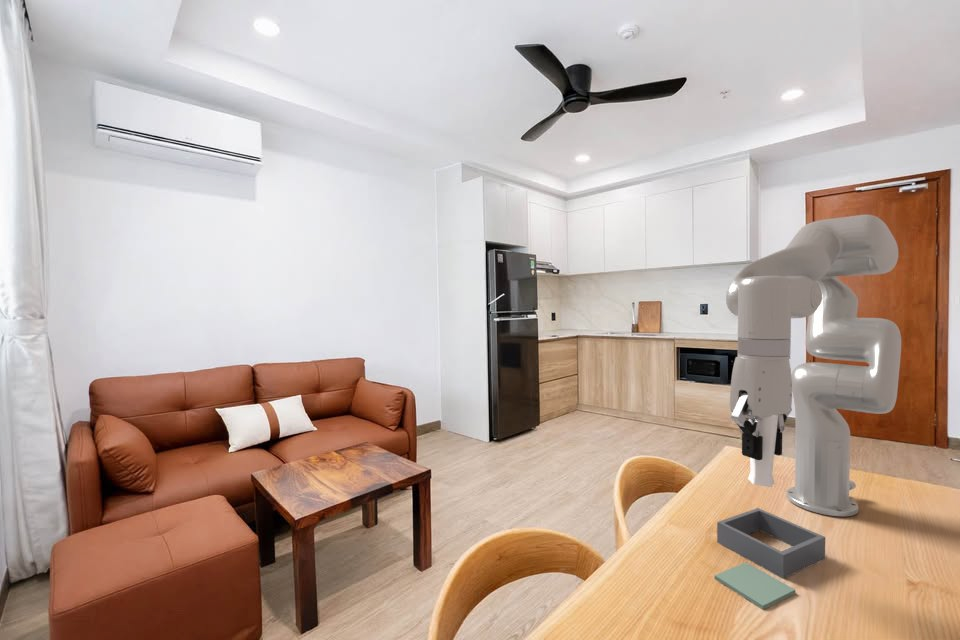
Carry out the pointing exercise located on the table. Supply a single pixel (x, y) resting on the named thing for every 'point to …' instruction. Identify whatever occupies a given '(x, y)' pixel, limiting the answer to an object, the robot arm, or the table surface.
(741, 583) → the mat
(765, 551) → the bin
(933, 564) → the table surface
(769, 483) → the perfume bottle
